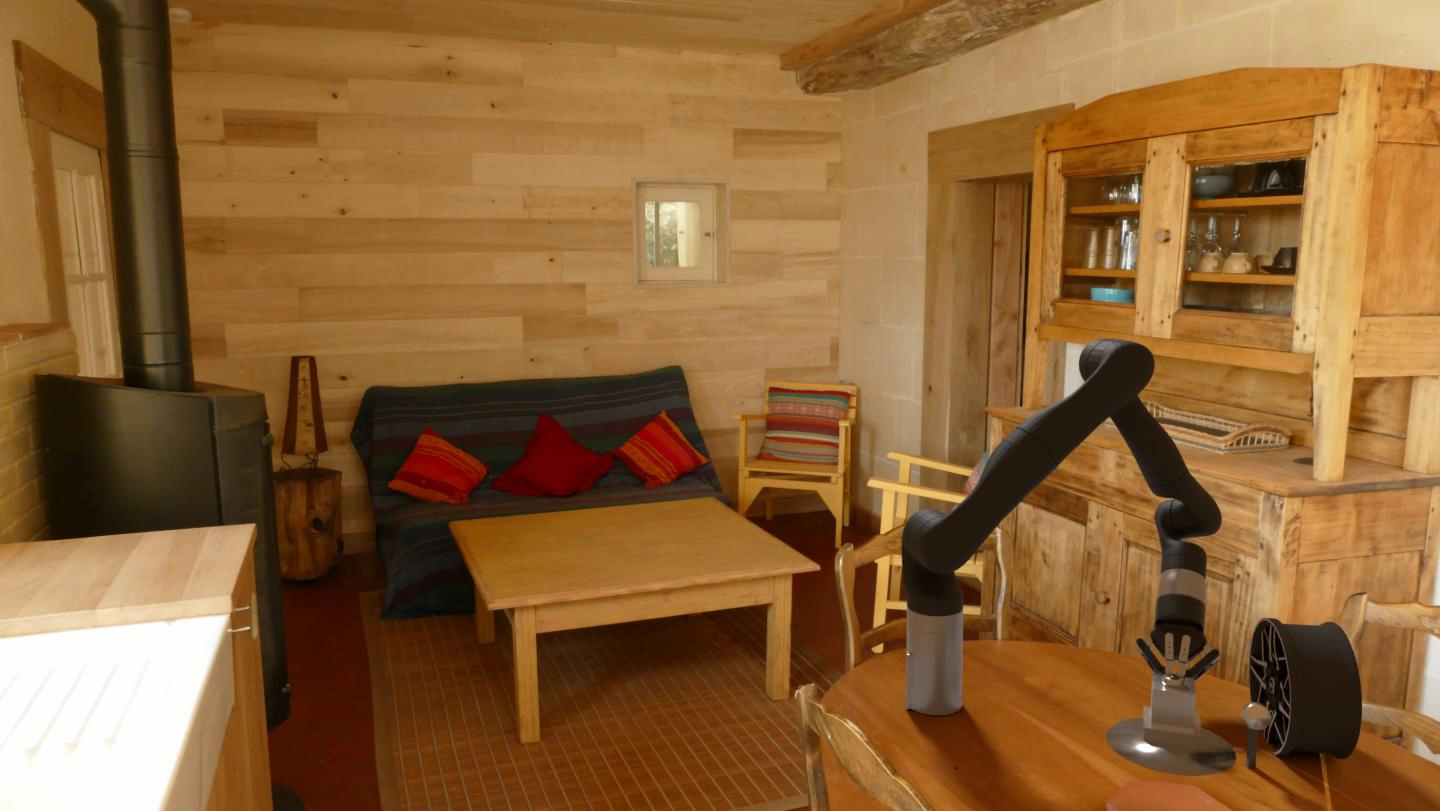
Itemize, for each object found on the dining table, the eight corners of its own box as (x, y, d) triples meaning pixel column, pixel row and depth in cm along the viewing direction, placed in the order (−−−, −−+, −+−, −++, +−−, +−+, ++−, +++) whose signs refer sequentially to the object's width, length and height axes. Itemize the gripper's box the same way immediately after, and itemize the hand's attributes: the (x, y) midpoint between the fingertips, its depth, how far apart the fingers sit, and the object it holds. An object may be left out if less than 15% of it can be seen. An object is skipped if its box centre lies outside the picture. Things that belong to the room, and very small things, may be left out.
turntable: (1116, 772, 148) (1116, 769, 148) (1097, 716, 165) (1097, 713, 165) (1262, 784, 144) (1262, 780, 144) (1227, 725, 161) (1227, 722, 161)
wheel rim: (1245, 717, 165) (1252, 599, 162) (1307, 721, 163) (1315, 602, 160) (1286, 780, 146) (1294, 647, 143) (1357, 786, 144) (1367, 651, 141)
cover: (1143, 739, 156) (1145, 683, 155) (1143, 717, 163) (1145, 663, 162) (1201, 748, 153) (1204, 690, 152) (1198, 725, 160) (1201, 669, 159)
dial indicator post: (1240, 779, 146) (1244, 705, 145) (1234, 768, 149) (1238, 695, 148) (1267, 781, 146) (1272, 706, 144) (1260, 770, 149) (1265, 697, 147)
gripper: (1137, 586, 170) (1127, 684, 161) (1225, 597, 164) (1220, 699, 155) (1138, 607, 176) (1129, 702, 167) (1224, 618, 170) (1219, 718, 161)
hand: (1173, 701), depth 161 cm, fingers closed
